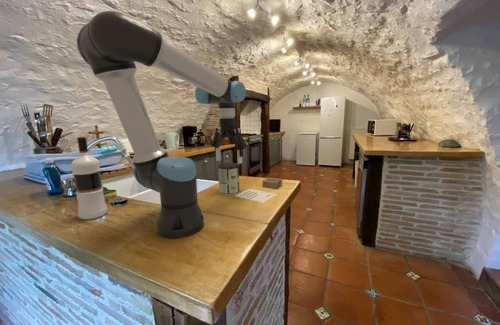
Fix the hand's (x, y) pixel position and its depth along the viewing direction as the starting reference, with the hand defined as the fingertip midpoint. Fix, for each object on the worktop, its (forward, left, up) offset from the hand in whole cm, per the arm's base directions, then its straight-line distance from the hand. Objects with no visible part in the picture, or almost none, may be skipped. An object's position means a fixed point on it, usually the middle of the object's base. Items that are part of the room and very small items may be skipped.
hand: (228, 162), depth 107 cm
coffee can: (0, 0, -16) cm, 16 cm away
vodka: (-50, +26, -16) cm, 59 cm away
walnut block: (+19, -14, -16) cm, 28 cm away
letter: (+3, -14, -15) cm, 21 cm away
